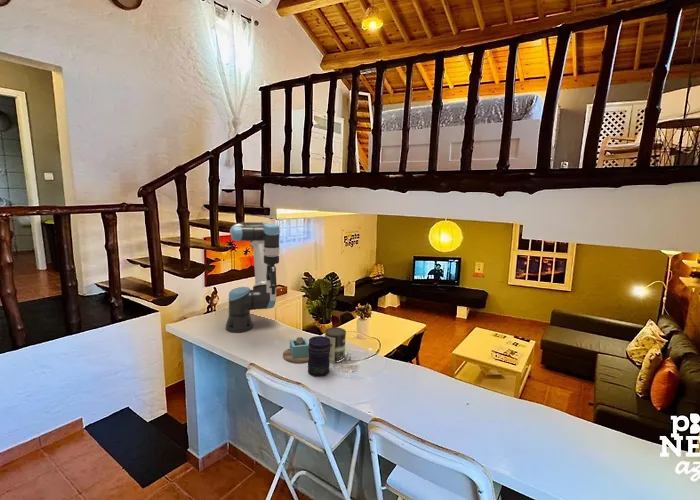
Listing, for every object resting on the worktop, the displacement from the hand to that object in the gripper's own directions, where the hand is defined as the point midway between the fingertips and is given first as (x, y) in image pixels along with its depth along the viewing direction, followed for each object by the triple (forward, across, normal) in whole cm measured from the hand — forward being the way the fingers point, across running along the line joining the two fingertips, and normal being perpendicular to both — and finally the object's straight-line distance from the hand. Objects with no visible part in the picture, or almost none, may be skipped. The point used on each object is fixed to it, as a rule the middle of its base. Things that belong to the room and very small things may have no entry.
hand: (271, 296), depth 181 cm
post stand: (+27, +15, +12) cm, 33 cm away
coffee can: (+27, +22, +28) cm, 45 cm away
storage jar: (+27, +32, +17) cm, 45 cm away
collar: (+26, +15, +12) cm, 32 cm away
